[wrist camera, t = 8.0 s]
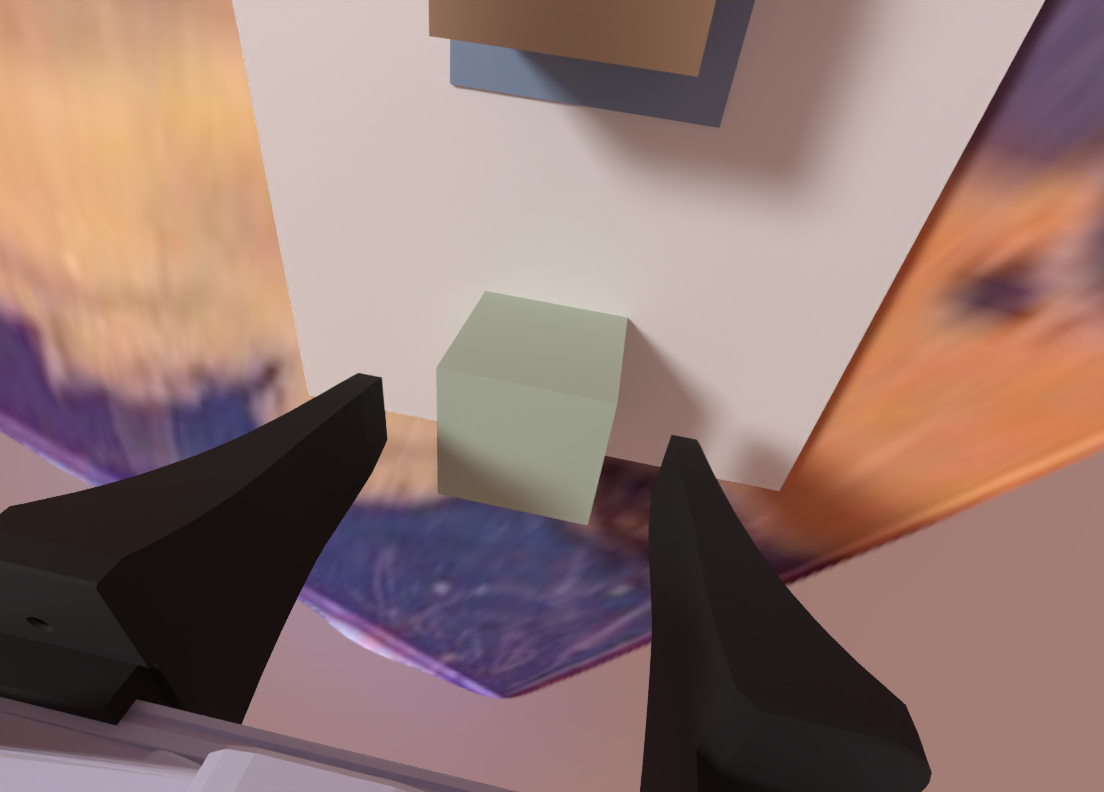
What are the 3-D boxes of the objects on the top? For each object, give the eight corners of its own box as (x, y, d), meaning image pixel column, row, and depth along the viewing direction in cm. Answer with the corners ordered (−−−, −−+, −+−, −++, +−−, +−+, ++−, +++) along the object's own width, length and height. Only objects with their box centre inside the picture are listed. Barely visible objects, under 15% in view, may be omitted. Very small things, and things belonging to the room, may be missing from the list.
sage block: (627, 317, 15) (617, 403, 11) (602, 428, 17) (587, 525, 14) (485, 290, 15) (436, 367, 12) (479, 403, 17) (437, 493, 14)
